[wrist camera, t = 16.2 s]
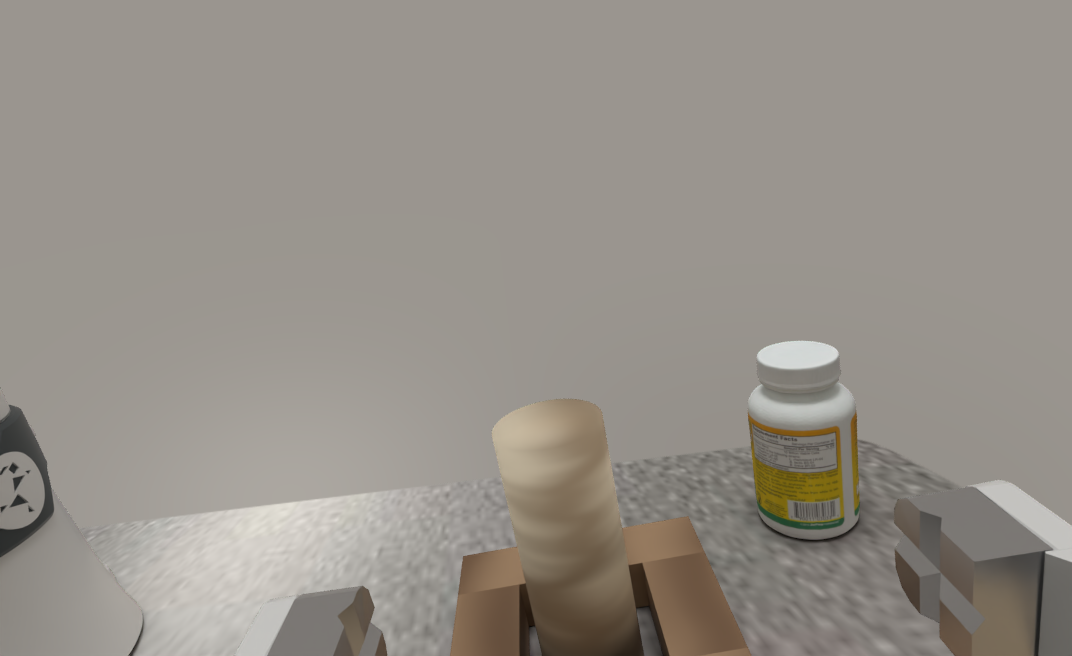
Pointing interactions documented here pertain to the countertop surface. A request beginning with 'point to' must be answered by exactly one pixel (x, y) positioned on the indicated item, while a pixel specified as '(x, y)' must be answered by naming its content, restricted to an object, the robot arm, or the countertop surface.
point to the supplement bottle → (804, 442)
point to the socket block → (657, 581)
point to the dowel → (568, 528)
